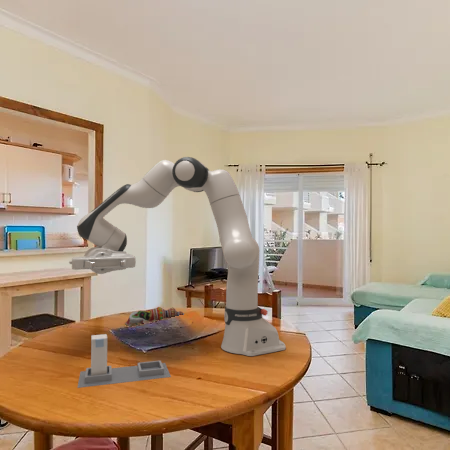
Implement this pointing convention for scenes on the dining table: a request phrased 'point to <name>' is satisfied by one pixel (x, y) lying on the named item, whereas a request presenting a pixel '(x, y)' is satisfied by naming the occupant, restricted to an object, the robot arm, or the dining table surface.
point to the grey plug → (98, 354)
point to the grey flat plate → (125, 374)
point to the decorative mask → (151, 316)
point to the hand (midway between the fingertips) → (108, 264)
